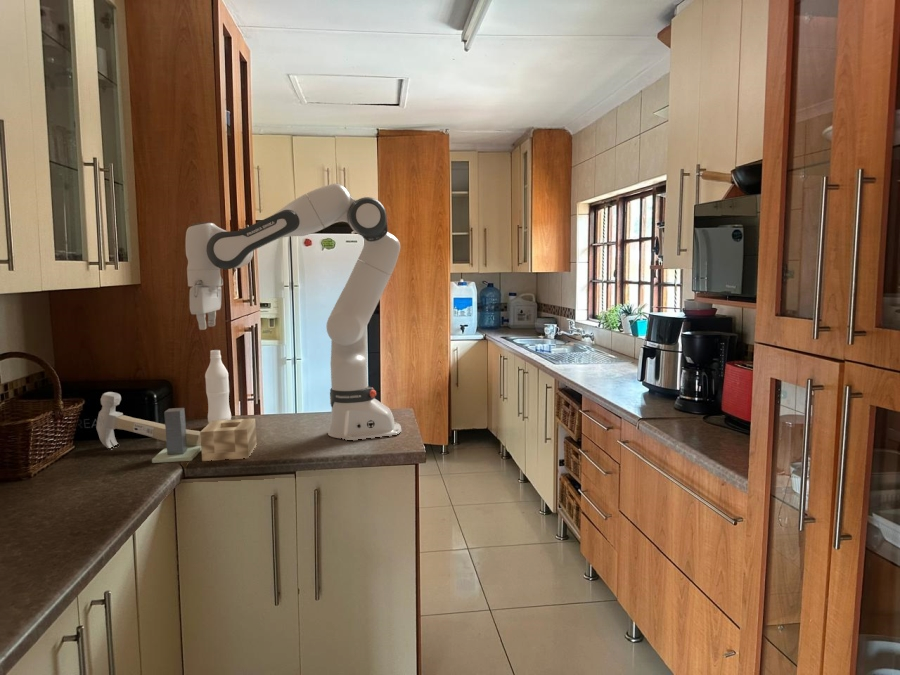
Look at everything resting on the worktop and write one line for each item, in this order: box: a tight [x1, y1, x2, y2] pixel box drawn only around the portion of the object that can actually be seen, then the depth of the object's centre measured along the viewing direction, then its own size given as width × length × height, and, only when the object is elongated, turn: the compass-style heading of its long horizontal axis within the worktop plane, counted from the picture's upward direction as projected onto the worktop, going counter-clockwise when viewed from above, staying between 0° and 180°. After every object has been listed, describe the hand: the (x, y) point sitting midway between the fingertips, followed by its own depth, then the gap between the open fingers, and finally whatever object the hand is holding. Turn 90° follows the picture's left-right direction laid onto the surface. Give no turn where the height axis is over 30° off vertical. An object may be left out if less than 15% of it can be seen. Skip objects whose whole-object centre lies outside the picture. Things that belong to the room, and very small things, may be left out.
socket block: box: [200, 418, 257, 462], centre depth 165 cm, size 12×12×8 cm
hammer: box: [95, 391, 201, 449], centre depth 171 cm, size 16×5×30 cm
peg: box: [163, 407, 188, 455], centre depth 163 cm, size 4×4×12 cm
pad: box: [151, 446, 202, 464], centre depth 164 cm, size 10×10×1 cm
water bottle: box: [204, 349, 232, 424], centre depth 193 cm, size 7×7×25 cm
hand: (207, 327), depth 172 cm, fingers open, 8 cm apart
